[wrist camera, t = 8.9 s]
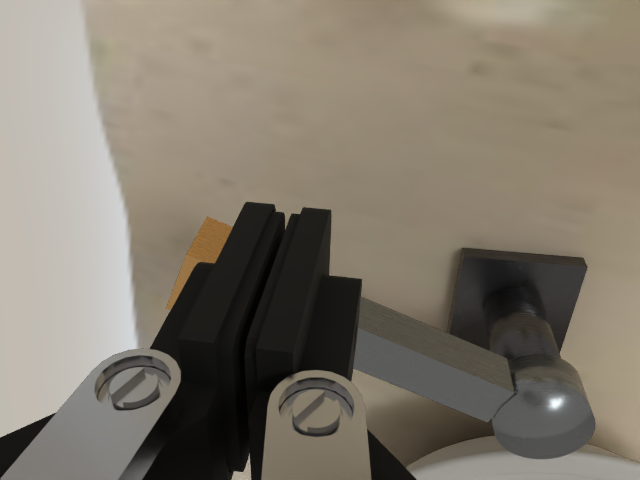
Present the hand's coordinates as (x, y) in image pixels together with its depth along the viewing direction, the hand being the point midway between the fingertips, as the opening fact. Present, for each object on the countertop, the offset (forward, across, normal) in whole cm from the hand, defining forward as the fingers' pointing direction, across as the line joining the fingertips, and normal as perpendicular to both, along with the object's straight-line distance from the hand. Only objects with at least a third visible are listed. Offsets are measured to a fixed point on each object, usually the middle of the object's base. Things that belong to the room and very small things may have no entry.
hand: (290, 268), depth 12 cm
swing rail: (+10, -3, +10) cm, 15 cm away
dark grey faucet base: (+17, -9, +13) cm, 23 cm away
